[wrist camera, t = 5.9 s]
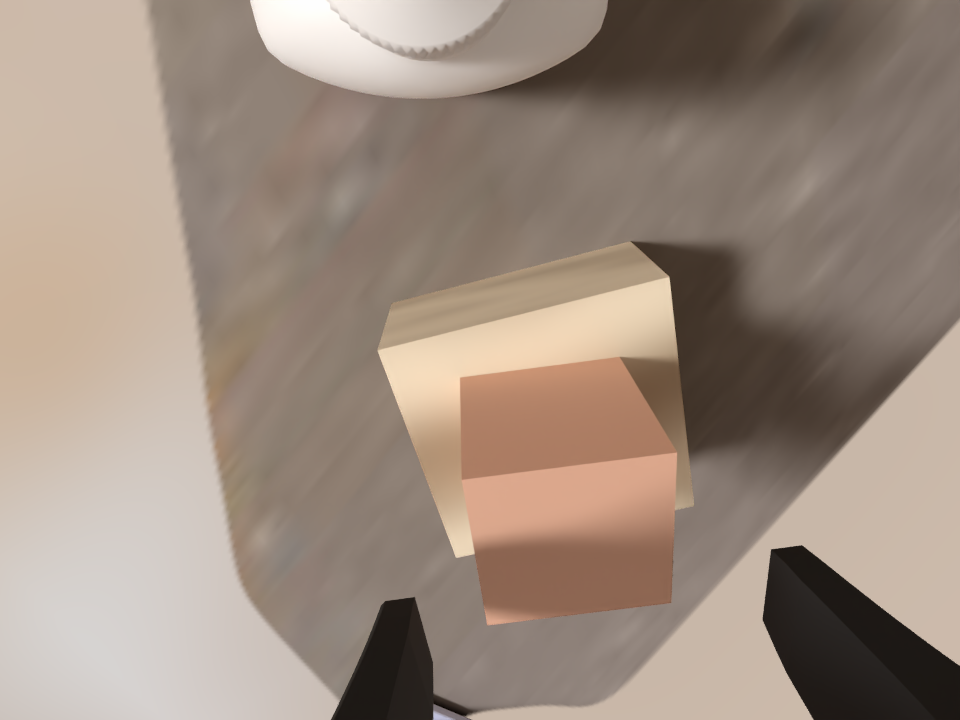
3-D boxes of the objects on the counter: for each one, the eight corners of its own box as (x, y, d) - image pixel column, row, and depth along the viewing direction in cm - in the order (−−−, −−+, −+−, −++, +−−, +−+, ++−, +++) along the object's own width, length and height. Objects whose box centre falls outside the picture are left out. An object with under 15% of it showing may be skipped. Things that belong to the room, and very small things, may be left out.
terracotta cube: (621, 483, 18) (671, 602, 14) (480, 501, 18) (487, 625, 14) (619, 356, 16) (677, 452, 11) (460, 377, 16) (461, 479, 12)
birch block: (654, 436, 22) (694, 505, 18) (456, 481, 22) (456, 557, 19) (627, 238, 18) (669, 276, 15) (392, 299, 19) (377, 350, 15)
